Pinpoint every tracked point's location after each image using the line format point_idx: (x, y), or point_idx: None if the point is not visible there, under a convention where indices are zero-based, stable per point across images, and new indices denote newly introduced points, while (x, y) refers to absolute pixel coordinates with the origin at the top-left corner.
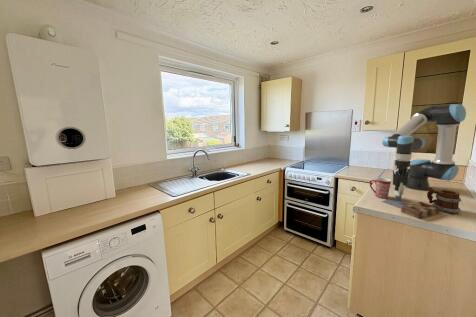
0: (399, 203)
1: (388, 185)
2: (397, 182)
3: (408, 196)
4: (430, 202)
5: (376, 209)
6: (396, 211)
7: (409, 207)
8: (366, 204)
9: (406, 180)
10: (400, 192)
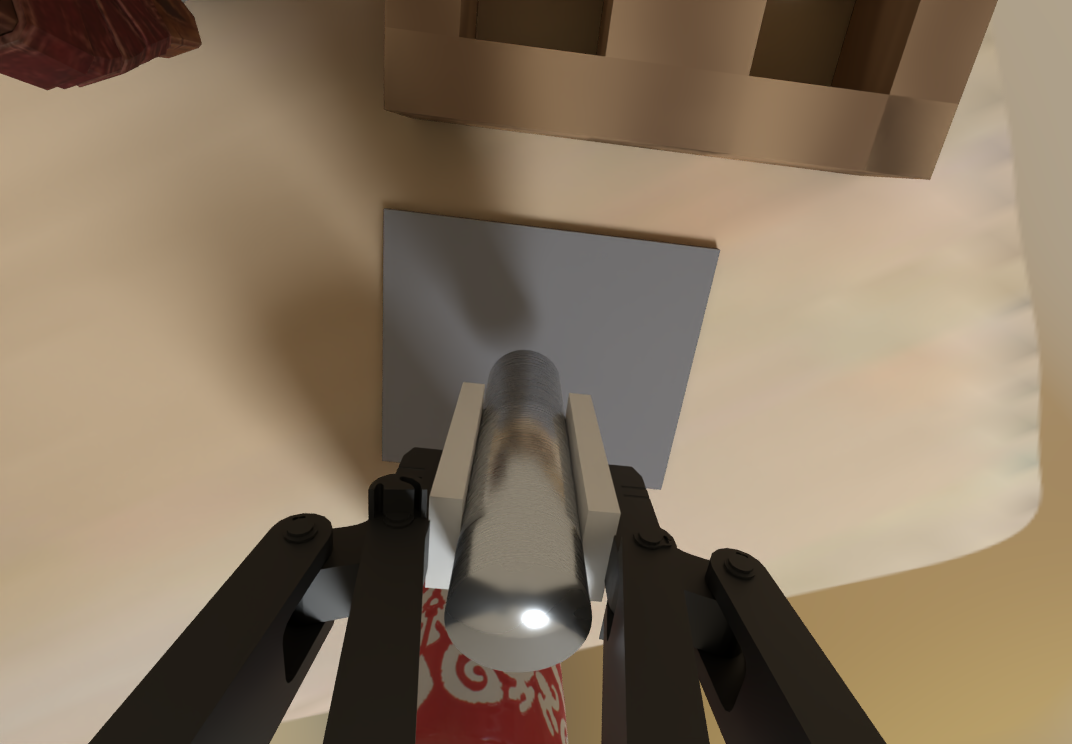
0: (525, 341)
1: (482, 671)
2: (784, 636)
3: (103, 410)
4: (184, 23)
5: (983, 389)
6: (860, 228)
7: (852, 92)
8: (894, 519)
9: (287, 602)
10: (550, 420)
